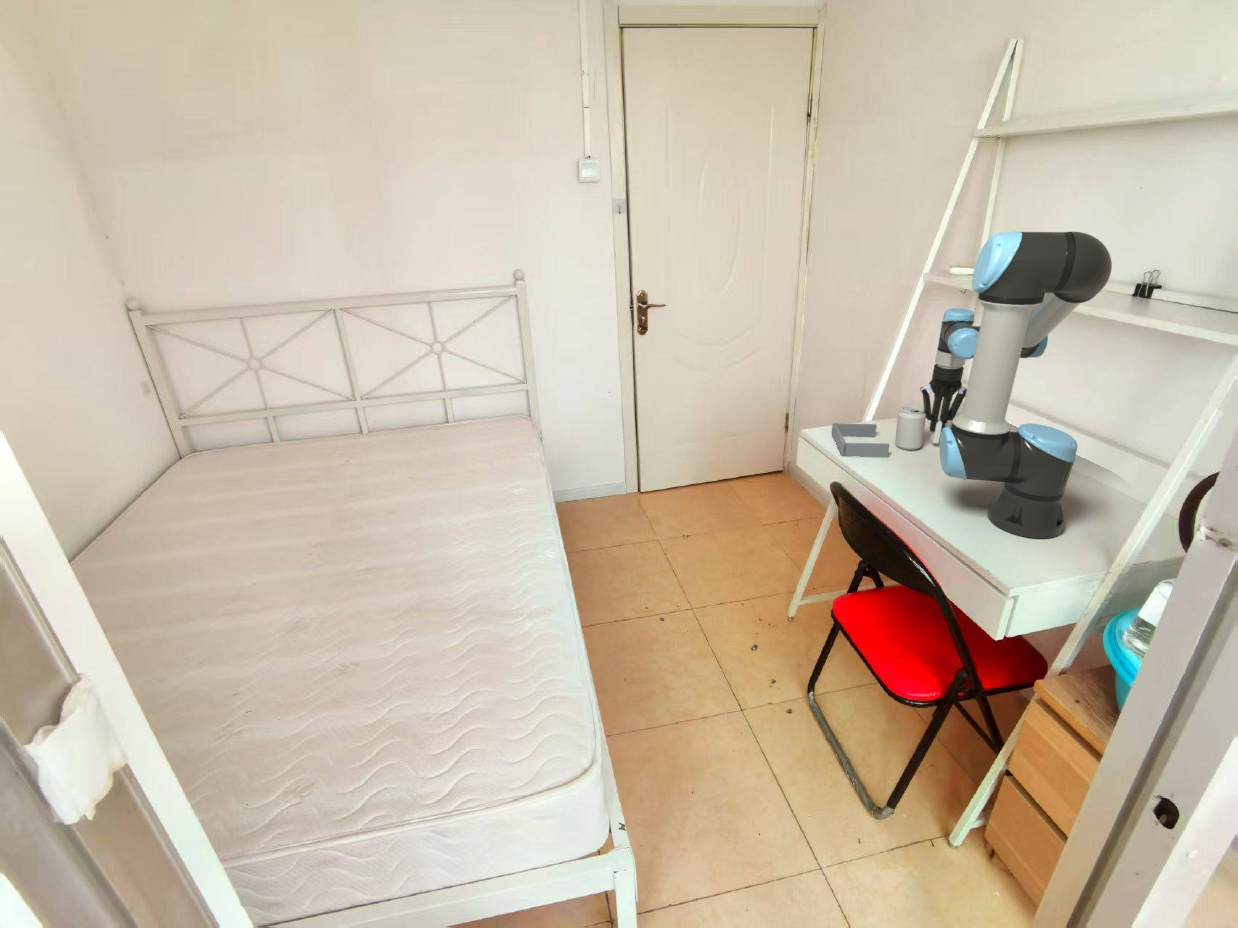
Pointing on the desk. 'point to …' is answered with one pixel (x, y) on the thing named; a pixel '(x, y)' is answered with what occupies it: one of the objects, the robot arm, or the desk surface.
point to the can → (910, 427)
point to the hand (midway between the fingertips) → (934, 441)
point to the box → (858, 448)
